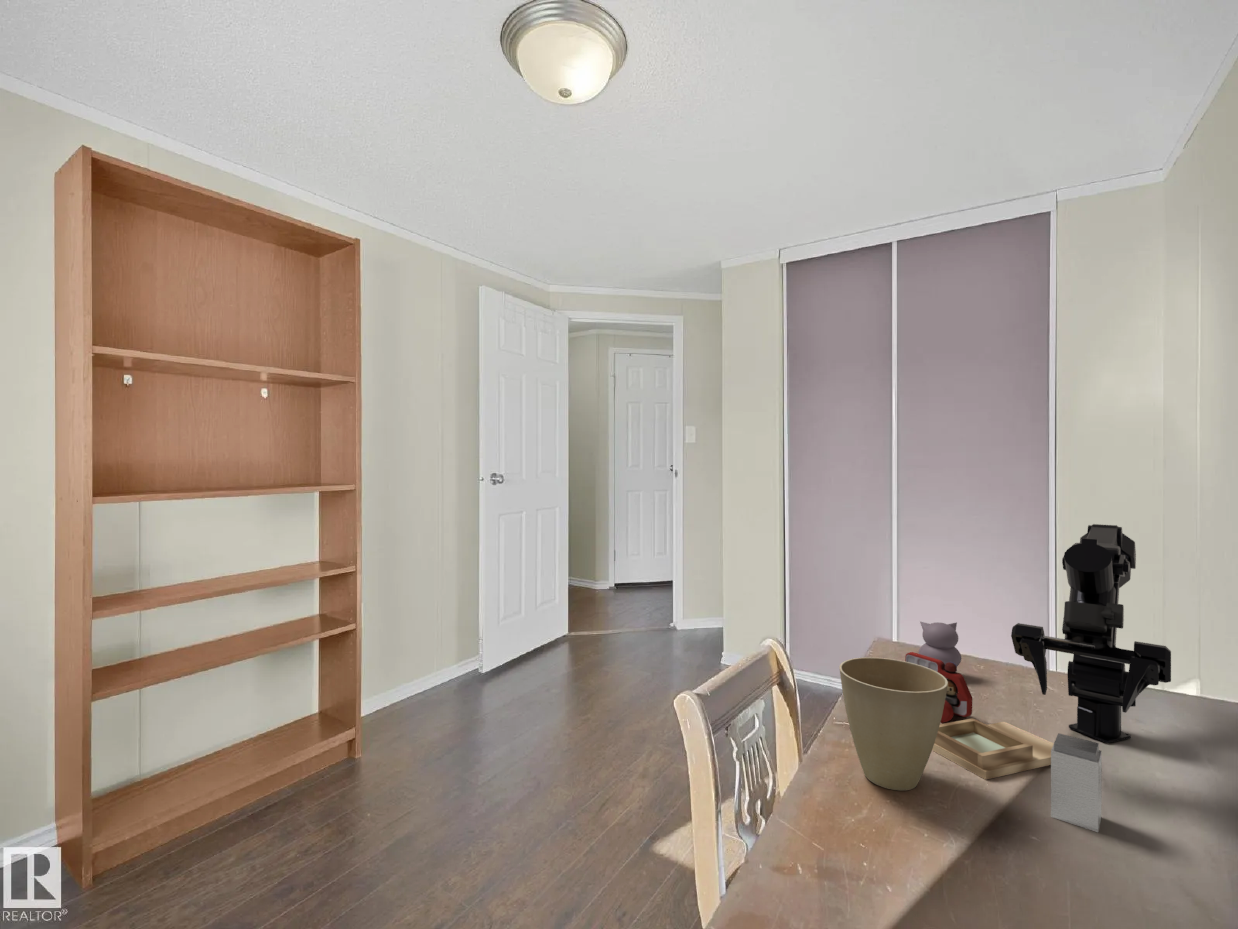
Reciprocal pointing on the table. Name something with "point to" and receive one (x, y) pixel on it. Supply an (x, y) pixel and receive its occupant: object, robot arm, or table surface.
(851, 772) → the table surface
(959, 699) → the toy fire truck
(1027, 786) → the table surface
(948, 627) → the cat figurine
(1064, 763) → the grey lidded container
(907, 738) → the plant pot
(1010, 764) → the wooden tray
